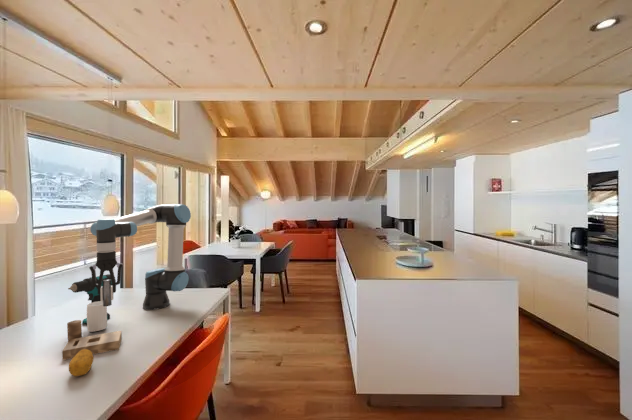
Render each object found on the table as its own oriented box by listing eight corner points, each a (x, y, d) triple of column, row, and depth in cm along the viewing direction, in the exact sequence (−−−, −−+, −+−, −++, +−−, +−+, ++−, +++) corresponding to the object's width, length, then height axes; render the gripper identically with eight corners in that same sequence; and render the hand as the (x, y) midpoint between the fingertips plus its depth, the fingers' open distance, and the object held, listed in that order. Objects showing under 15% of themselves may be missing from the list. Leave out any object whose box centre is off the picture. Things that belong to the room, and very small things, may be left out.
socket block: (121, 338, 148) (121, 330, 148) (119, 349, 138) (118, 340, 138) (69, 348, 139) (69, 339, 139) (62, 360, 128) (62, 350, 128)
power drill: (77, 332, 156) (75, 283, 155) (62, 331, 157) (61, 283, 157) (119, 314, 181) (118, 272, 180) (106, 313, 183) (105, 271, 182)
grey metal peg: (112, 303, 149) (111, 279, 149) (111, 305, 146) (110, 280, 146) (103, 304, 148) (103, 280, 148) (102, 306, 145) (102, 281, 145)
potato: (64, 384, 111) (63, 365, 111) (75, 365, 124) (74, 348, 124) (88, 379, 114) (87, 361, 114) (96, 361, 127) (96, 344, 127)
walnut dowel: (83, 339, 147) (82, 319, 147) (80, 344, 143) (80, 323, 143) (69, 342, 145) (68, 321, 145) (66, 346, 140) (65, 325, 140)
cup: (111, 328, 160) (110, 301, 160) (95, 335, 152) (94, 307, 152) (99, 326, 163) (98, 300, 163) (83, 333, 155) (82, 305, 155)
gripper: (127, 249, 154) (127, 295, 154) (86, 251, 146) (87, 300, 147) (125, 251, 147) (126, 299, 148) (83, 253, 140) (84, 304, 140)
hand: (107, 299), depth 147 cm, fingers closed on grey metal peg, 3 cm apart
